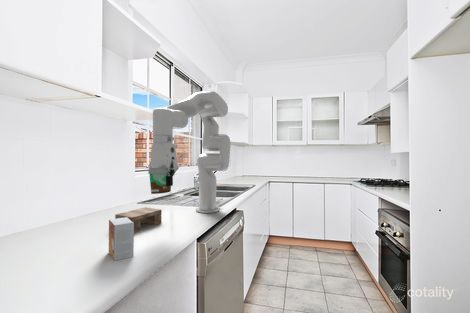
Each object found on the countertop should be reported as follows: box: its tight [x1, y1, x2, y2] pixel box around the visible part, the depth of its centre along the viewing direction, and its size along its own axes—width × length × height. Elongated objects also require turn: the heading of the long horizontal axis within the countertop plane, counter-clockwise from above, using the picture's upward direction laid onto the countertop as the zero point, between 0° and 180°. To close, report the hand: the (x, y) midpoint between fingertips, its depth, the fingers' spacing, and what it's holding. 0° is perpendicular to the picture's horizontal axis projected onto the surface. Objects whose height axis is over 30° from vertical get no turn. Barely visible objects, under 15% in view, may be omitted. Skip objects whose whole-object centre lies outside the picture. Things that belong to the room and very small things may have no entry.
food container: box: [147, 167, 172, 195], centre depth 97 cm, size 12×6×10 cm, turn 165°
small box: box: [108, 217, 135, 262], centre depth 76 cm, size 8×6×10 cm
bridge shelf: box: [114, 206, 163, 233], centre depth 106 cm, size 16×10×6 cm, turn 153°
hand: (163, 185), depth 98 cm, fingers closed on food container, 5 cm apart
